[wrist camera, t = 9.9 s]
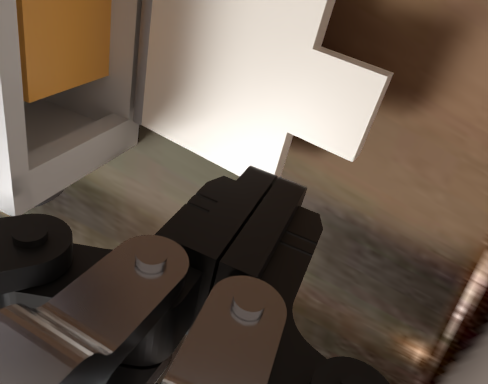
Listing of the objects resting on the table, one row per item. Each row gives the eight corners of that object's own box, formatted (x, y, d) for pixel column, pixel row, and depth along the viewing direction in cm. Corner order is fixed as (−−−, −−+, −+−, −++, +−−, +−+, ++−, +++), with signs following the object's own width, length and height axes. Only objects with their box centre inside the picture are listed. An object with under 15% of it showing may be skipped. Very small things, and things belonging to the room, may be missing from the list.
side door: (143, -98, 19) (426, -19, 15) (161, -94, 20) (432, -18, 16) (128, 119, 25) (326, 222, 21) (142, 114, 26) (335, 212, 22)
